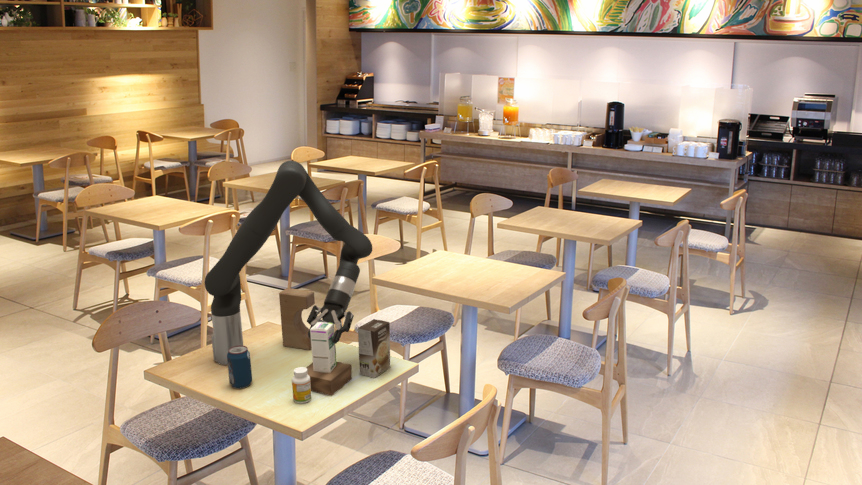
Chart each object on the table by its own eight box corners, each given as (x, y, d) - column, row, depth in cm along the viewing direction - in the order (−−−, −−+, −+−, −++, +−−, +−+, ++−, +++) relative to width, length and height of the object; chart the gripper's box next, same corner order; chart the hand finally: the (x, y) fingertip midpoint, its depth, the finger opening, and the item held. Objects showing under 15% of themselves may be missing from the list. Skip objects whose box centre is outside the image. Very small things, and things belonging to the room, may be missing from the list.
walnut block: (298, 388, 223) (297, 373, 222) (319, 372, 233) (319, 357, 232) (331, 395, 218) (330, 380, 217) (351, 378, 229) (351, 364, 227)
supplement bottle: (294, 395, 219) (292, 366, 216) (312, 394, 219) (310, 365, 216) (292, 404, 213) (290, 374, 211) (310, 403, 214) (308, 373, 211)
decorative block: (317, 344, 254) (314, 291, 249) (309, 350, 249) (306, 296, 244) (290, 340, 258) (287, 287, 253) (282, 346, 253) (278, 292, 248)
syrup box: (330, 373, 221) (328, 329, 217) (312, 371, 223) (309, 328, 219) (337, 365, 227) (334, 322, 223) (319, 363, 228) (316, 321, 224)
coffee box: (375, 378, 229) (373, 331, 224) (359, 374, 232) (357, 327, 227) (391, 367, 236) (390, 321, 232) (375, 363, 239) (373, 318, 235)
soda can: (256, 380, 229) (253, 345, 225) (246, 390, 222) (243, 354, 219) (236, 378, 230) (232, 343, 227) (225, 388, 223) (222, 353, 220)
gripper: (316, 285, 228) (297, 331, 221) (355, 291, 222) (336, 339, 215) (326, 295, 234) (308, 341, 227) (364, 301, 228) (346, 349, 221)
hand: (322, 340), depth 221 cm, fingers open, 8 cm apart
